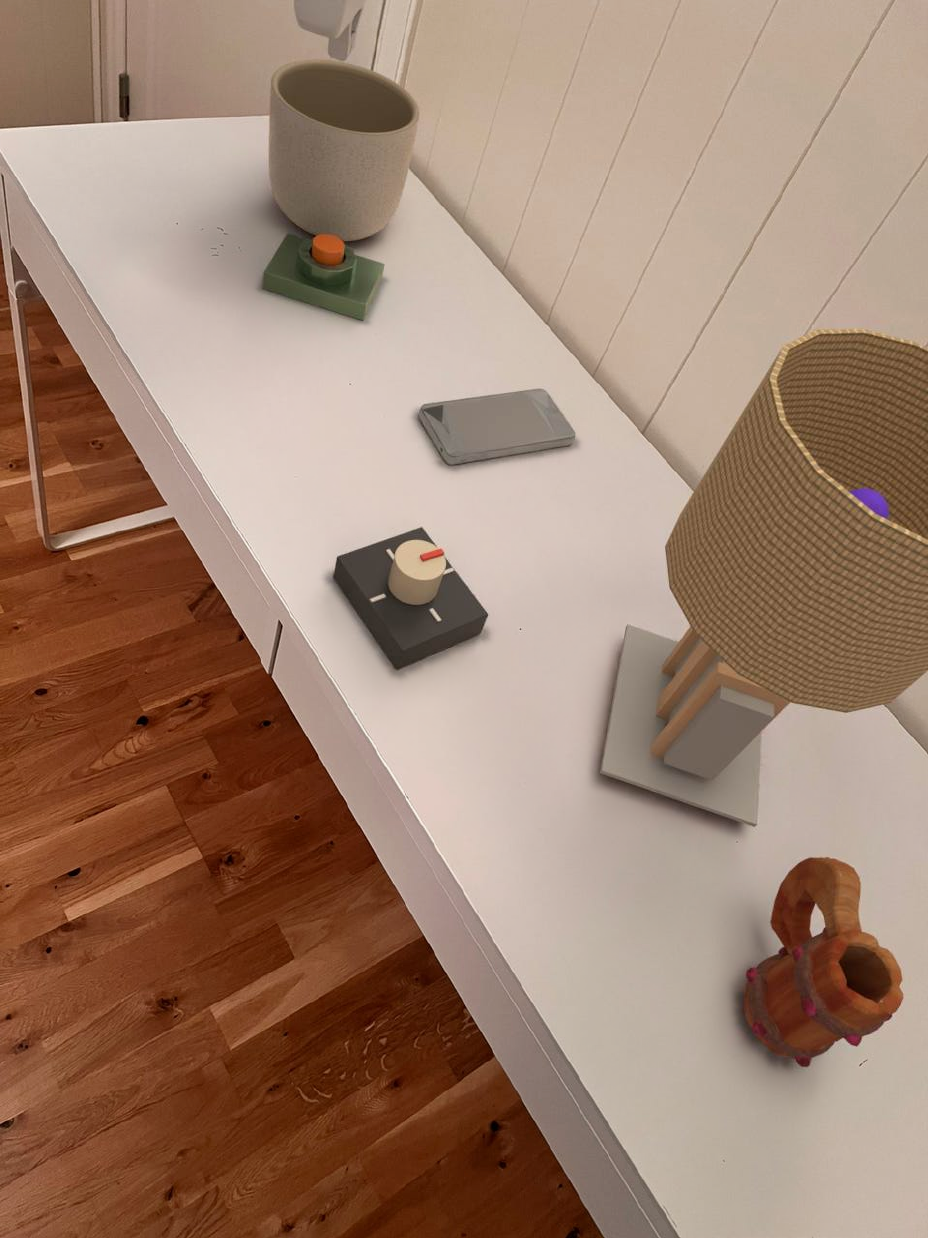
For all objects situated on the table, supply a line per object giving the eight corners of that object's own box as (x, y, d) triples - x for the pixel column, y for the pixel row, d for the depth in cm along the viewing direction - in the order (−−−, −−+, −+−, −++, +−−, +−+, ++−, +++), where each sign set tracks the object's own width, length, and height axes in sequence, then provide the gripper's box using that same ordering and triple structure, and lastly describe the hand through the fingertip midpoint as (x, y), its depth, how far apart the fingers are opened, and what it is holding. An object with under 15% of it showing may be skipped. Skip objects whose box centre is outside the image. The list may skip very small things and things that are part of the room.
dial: (403, 611, 77) (411, 583, 74) (379, 573, 78) (386, 545, 75) (446, 596, 79) (456, 569, 76) (422, 559, 80) (430, 531, 77)
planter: (424, 236, 117) (449, 117, 106) (327, 273, 108) (343, 147, 96) (334, 170, 122) (349, 49, 110) (234, 200, 112) (239, 71, 100)
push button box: (262, 288, 103) (264, 257, 100) (286, 249, 109) (288, 218, 106) (363, 320, 104) (368, 290, 101) (381, 279, 110) (387, 250, 106)
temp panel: (332, 577, 81) (337, 555, 78) (415, 547, 85) (422, 525, 83) (396, 670, 76) (403, 650, 74) (480, 634, 81) (489, 613, 78)
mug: (828, 1077, 64) (941, 1037, 55) (741, 1071, 63) (840, 1030, 54) (793, 907, 72) (886, 846, 62) (714, 899, 71) (796, 835, 61)
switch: (307, 259, 102) (309, 245, 101) (316, 244, 104) (318, 230, 103) (338, 269, 102) (340, 255, 101) (346, 253, 105) (348, 239, 103)
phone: (575, 445, 99) (578, 436, 98) (446, 467, 93) (449, 458, 92) (541, 395, 103) (544, 387, 102) (415, 413, 96) (417, 404, 95)
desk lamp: (590, 613, 85) (774, 290, 58) (783, 681, 86) (1056, 393, 58) (552, 790, 73) (763, 487, 46) (777, 869, 74) (1119, 616, 46)
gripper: (356, -176, 78) (337, 3, 88) (284, -116, 65) (272, 85, 76) (427, -151, 78) (399, 24, 89) (368, -87, 65) (345, 109, 76)
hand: (340, 53), depth 82 cm, fingers closed
